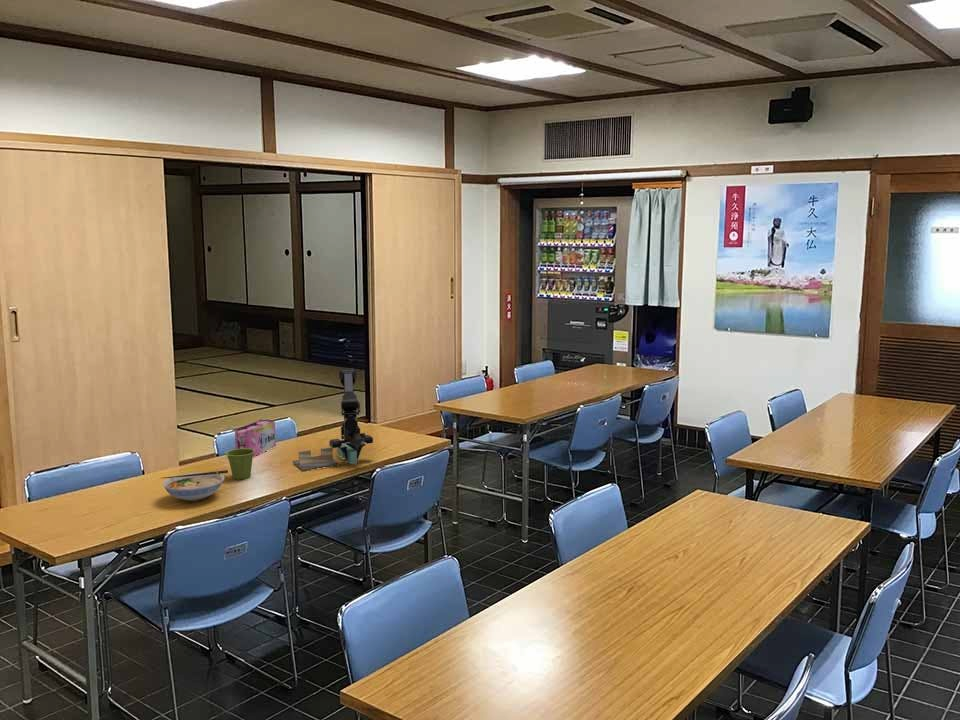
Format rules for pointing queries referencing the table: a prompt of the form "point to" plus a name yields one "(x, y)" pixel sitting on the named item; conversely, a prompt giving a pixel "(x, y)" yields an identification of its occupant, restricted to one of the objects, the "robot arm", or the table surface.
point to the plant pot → (240, 462)
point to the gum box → (256, 436)
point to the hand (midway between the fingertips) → (352, 460)
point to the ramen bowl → (194, 485)
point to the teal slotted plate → (349, 454)
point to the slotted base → (316, 465)
